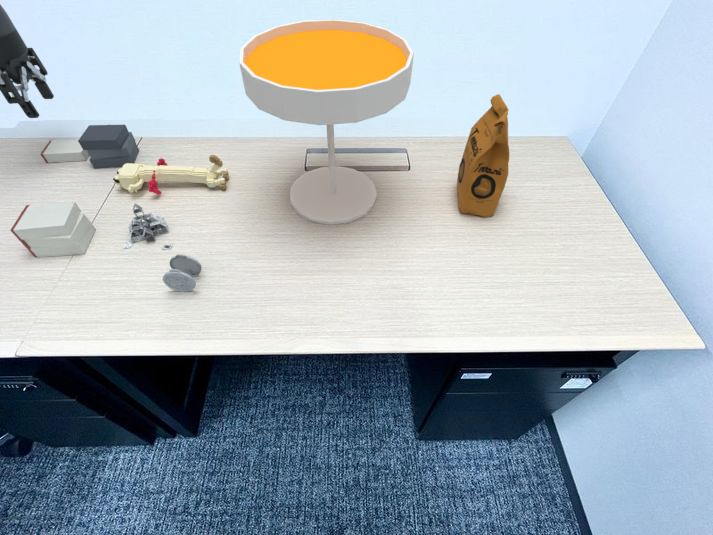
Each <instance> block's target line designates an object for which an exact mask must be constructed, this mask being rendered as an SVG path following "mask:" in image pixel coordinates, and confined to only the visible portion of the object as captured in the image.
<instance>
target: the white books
mask: <svg viewBox="0 0 713 535" xmlns="http://www.w3.org/2000/svg"><path fill="white" fill-rule="evenodd" d="M81 212H82V210H81V208H80V207H79V205H78V204H77V203H76V202H75V201H67V202H66V201H65V202H55V203H43V204H34V205H30V204H27V205H25V206H24V208H23V210H22V211H21V212H20V215H19V216H18V217H17V219H16V221H15V222H14V224H13V225H12V227H11V228H10V232H11V233H12V234H13V236H14V237H16V239H18V241H19V242H20V243H21V244H22V245H23V246H24V248H26V249H27V251H28V252H29V253H30V254H31V255H32V256H33V257H34V258H47V257H48V258H49V257H60V256H61V257H62V256H74V255H77V256H78V255H85V254H86V253H87V250H88V248H89V245H90V244H91V241H92V239H93V237H94V235H95V232H96V228H95V226H94V225H93V223H92V222H91V220H89V219H88V217H87V216H86V214H85V213H81Z"/></svg>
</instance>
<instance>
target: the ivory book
mask: <svg viewBox="0 0 713 535" xmlns="http://www.w3.org/2000/svg"><path fill="white" fill-rule="evenodd" d="M79 139H80V138H78V139H77V138H76V139H57V140H56V139H55V140H49V141H48V142H47V144H46V145H45V147H44V149H43V150H41V153H40V156H41V157H42V159H43V161H44V162H45V163H46V164H51V163H52V164H53V163H69V162H86V161H88V158H90V155H89V154H88V152H87V150H83V149H82V147H81V145H80V144H79V142H78V140H79Z"/></svg>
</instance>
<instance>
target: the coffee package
mask: <svg viewBox="0 0 713 535" xmlns="http://www.w3.org/2000/svg"><path fill="white" fill-rule="evenodd" d="M490 104H491V106H490V108H489V109H488V110H486V111H485V113H484V114H483V115H482V116H481V117H480V118H479V119H477V121H476V122H475V123H474V124H473V126H472V127H471V128H470V132H469V135H468V138H467V141H466V144H465V147H464V150H463V153H462V157H461V160H460V163H459V165H458V172H457V180H456V192H457V200H458V202H457V203H458V207H459V210H460V212H461V214H469V215H473V216H480V217H483V218H486V217H487V218H488V217H494V215H495V212H496V210H497V208H498V206H499V203H500V200H501V197H502V194H503V192H504V189H505V187H506V184H507V180H508V176H509V162H510V146H509V120H508V118H509V117H508V115H509V108H508V106H507V104H506V103H505V101H504V100H503V98H502V96H501V94H500V93H498V94H496V95H494V96H491V99H490Z"/></svg>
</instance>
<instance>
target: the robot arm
mask: <svg viewBox="0 0 713 535" xmlns="http://www.w3.org/2000/svg"><path fill="white" fill-rule="evenodd" d="M36 66H37V67H38V68H39V69H38V68H37V67H36ZM46 76H48V70H47V69H46V67H45V66H44V64H43V62H42V61H41V59H40V58H39V56H38V54H37V53H36V51H35V50H34V47H28V46H27V44H26V43H25V41H24V39H23V37H22V36H21V35H20V33H19V31H18V28H16V26H15V24H14V23H13V21H12V19H11V18H10V16H9V14H8V12H7V11H6V10H5V8H4V6H2V4H0V92H1V94H2V96H3V97H4V99H5V100H6V102H7V103H8V104H9V105H11V104H17V105H19V107H20V108H21V110H22V111H23V113H24V114H25V116H26V117H27V118H29V119H38V118H39V117H40V113H39V112H38V110H37V109H36V107H35V105H34V104H33V103H32V101H31V99H29V95H28V94H29V93H28V91H29V89H30V87H29V82H30V81H32V82H33V84H34V86H35V87H36V89H37V91H38V92H39V94H40V96H41V97H42V98H43V99H44V100H53V99H54V98H55V95H54V94H53V92H52V90H51V88H50V86H49V85H48V83H47V78H46ZM10 93H11V94H10Z"/></svg>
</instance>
